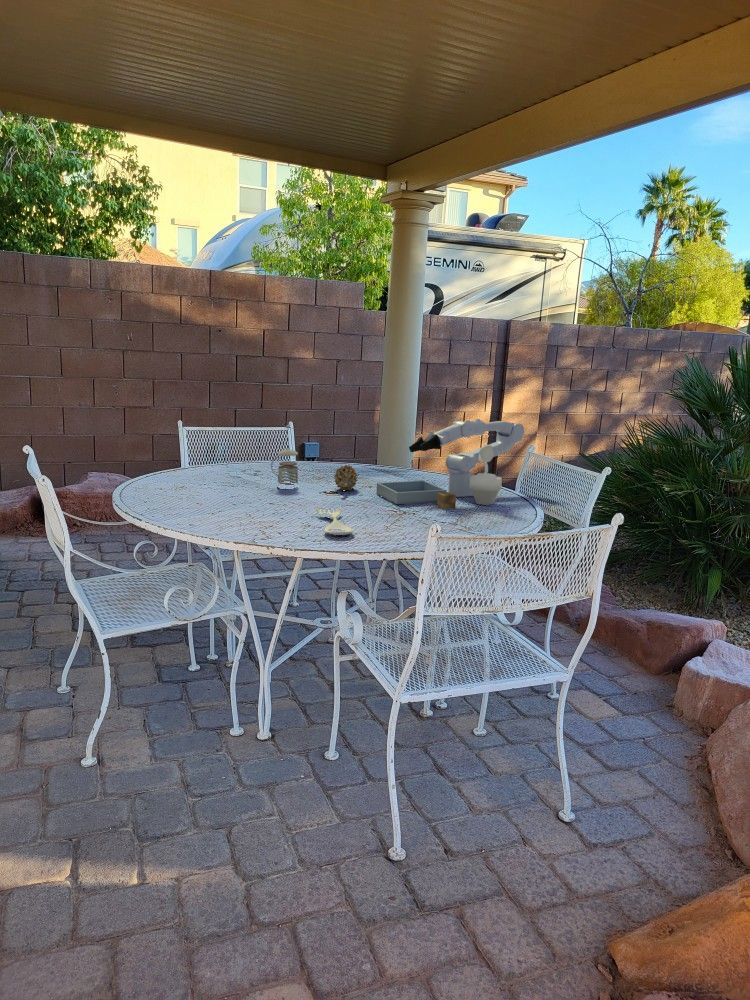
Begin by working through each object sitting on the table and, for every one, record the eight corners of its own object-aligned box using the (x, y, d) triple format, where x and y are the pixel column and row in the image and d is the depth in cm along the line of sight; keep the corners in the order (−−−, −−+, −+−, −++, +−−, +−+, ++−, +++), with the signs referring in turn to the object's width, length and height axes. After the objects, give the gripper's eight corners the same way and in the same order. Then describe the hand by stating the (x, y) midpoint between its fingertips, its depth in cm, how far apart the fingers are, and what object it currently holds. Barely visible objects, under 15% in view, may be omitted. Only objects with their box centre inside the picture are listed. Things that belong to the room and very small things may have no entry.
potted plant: (500, 507, 264) (504, 438, 258) (467, 505, 266) (470, 437, 261) (501, 500, 276) (505, 434, 271) (470, 498, 278) (473, 433, 273)
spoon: (341, 515, 249) (341, 505, 248) (356, 539, 218) (356, 528, 217) (314, 515, 247) (314, 505, 246) (326, 540, 216) (326, 529, 216)
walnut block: (449, 505, 266) (449, 492, 265) (455, 508, 262) (456, 494, 261) (436, 506, 264) (437, 492, 263) (442, 509, 260) (443, 495, 259)
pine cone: (334, 486, 297) (334, 462, 295) (357, 486, 297) (358, 462, 295) (332, 497, 276) (332, 471, 273) (357, 497, 276) (357, 471, 274)
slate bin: (423, 491, 290) (423, 480, 289) (446, 501, 272) (446, 490, 271) (376, 494, 283) (376, 482, 282) (396, 505, 265) (396, 492, 264)
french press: (302, 489, 290) (302, 426, 285) (273, 490, 287) (272, 426, 282) (298, 484, 299) (298, 423, 294) (269, 485, 296) (269, 423, 291)
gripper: (430, 428, 281) (402, 440, 275) (451, 424, 268) (422, 437, 262) (435, 445, 282) (407, 457, 276) (457, 443, 269) (428, 455, 263)
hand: (415, 448), depth 269 cm, fingers open, 7 cm apart
